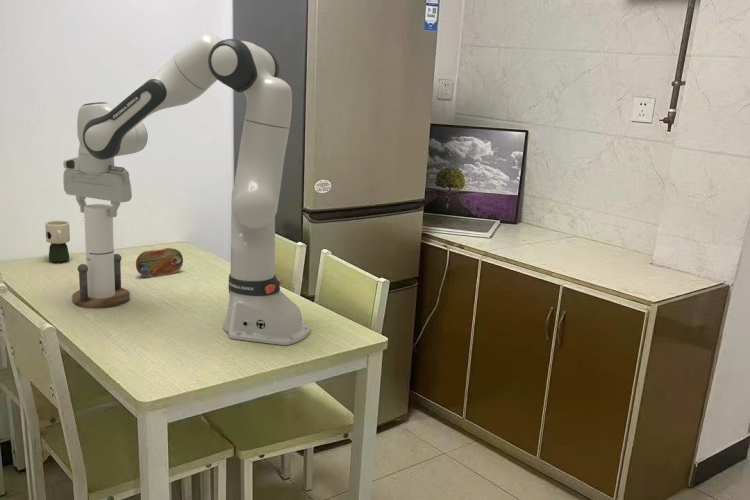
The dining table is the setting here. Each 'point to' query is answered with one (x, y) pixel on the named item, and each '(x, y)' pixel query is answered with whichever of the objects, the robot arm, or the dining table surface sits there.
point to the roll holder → (118, 299)
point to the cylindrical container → (99, 251)
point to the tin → (159, 262)
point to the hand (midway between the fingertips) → (98, 214)
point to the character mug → (58, 240)
